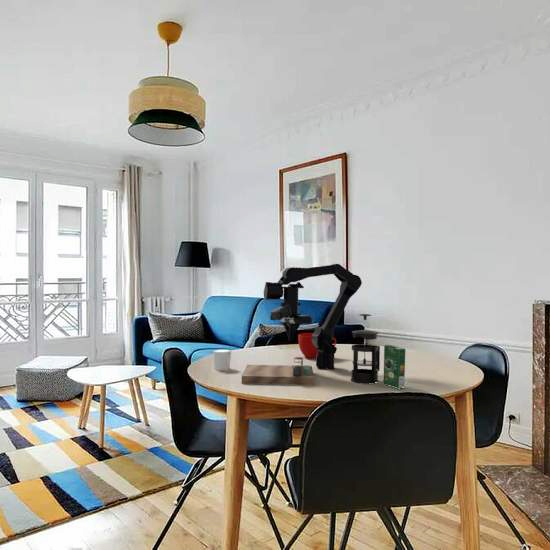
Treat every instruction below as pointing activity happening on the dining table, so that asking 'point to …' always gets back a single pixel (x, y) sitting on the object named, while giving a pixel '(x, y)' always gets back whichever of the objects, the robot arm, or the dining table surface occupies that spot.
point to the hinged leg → (297, 366)
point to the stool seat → (277, 375)
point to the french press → (364, 374)
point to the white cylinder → (222, 359)
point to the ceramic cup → (308, 345)
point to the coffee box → (394, 366)
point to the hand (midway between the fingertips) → (290, 340)
